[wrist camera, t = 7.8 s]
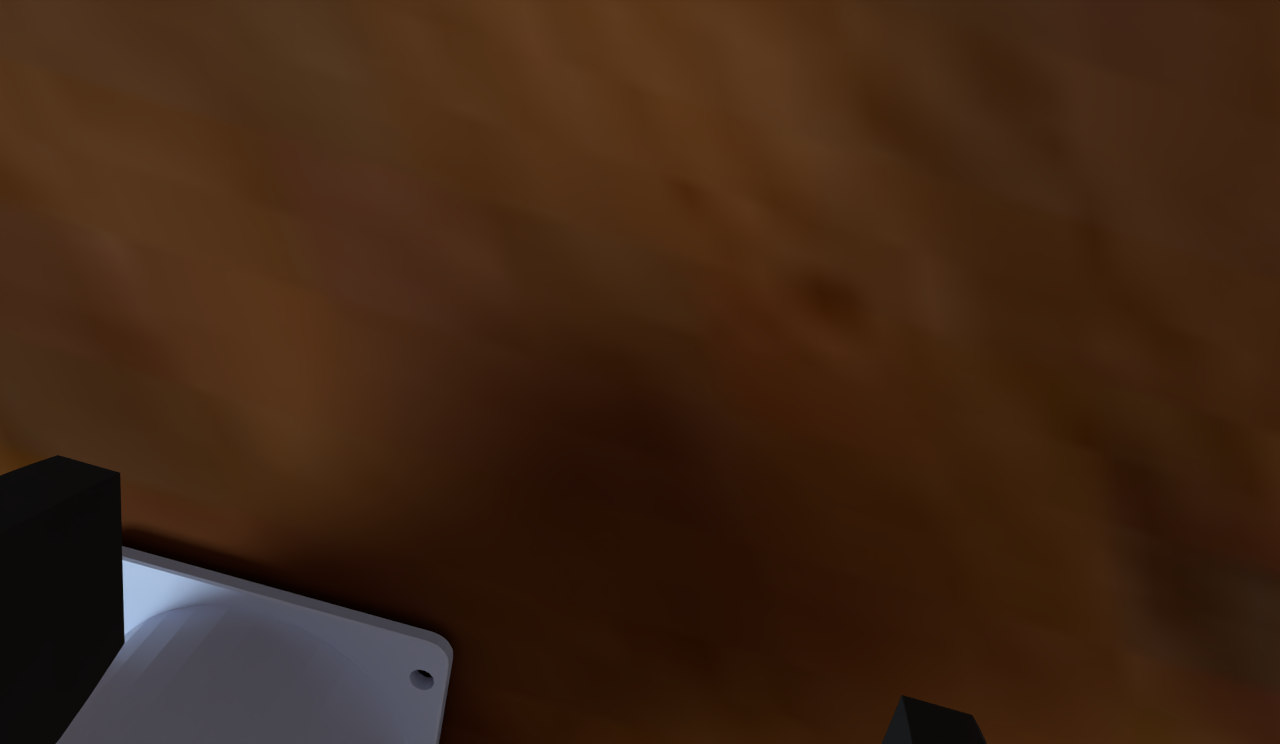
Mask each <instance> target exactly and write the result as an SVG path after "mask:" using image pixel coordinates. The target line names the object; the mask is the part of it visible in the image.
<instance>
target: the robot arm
mask: <svg viewBox="0 0 1280 744" xmlns="http://www.w3.org/2000/svg"><path fill="white" fill-rule="evenodd" d="M452 661H453V649H452V647H451V646H450V644H449V642H448V641H447V640H446V639H445V638H444V637H442V636H441V635H439V634H436V633H434V632H431V631H428V630H424V629H421V628H417V627H413V626H410V625H406V624H403V623H399V622H395V621H392V620H388V619H384V618H381V617H377V616H374V615H370V614H366V613H363V612H359V611H356V610H352V609H348V608H345V607H341V606H337V605H334V604H330V603H327V602H323V601H319V600H316V599H312V598H309V597H305V596H301V595H298V594H294V593H290V592H287V591H283V590H280V589H276V588H272V587H269V586H265V585H262V584H258V583H254V582H251V581H247V580H244V579H240V578H236V577H233V576H229V575H225V574H222V573H218V572H215V571H211V570H207V569H204V568H200V567H197V566H193V565H189V564H186V563H182V562H178V561H175V560H171V559H168V558H164V557H160V556H157V555H153V554H150V553H146V552H142V551H139V550H135V549H131V548H128V547H124V546H122V526H121V489H120V473H119V472H115V471H112V470H108V469H105V468H101V467H98V466H94V465H91V464H87V463H84V462H80V461H77V460H73V459H70V458H66V457H62V456H59V455H57V456H54V457H51V458H48V459H45V460H42V461H39V462H36V463H33V464H30V465H28V466H25V467H22V468H19V469H17V470H14V471H11V472H9V473H6V474H3V475H1V476H0V744H439V740H440V734H441V728H442V722H443V716H444V710H445V704H446V698H447V692H448V685H449V679H450V673H451V667H452ZM418 670H424V671H426V672H428V673H430V675H431V676H432V677H433V678H432V677H425V676H423V675H421V674H420V673H419V672H418ZM882 744H987V743H986V741H985V739H984V737H983V734H982V732H981V730H980V728H979V726H978V724H977V723H976V721H975V719H974V717H973V716H972V715H970V714H966V713H963V712H959V711H956V710H952V709H949V708H945V707H942V706H938V705H935V704H931V703H928V702H924V701H921V700H917V699H914V698H910V697H907V696H903V695H902V696H901V699H900V701H899V703H898V706H897V708H896V711H895V713H894V715H893V718H892V720H891V723H890V725H889V727H888V730H887V732H886V735H885V737H884V740H883V742H882Z"/></svg>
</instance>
